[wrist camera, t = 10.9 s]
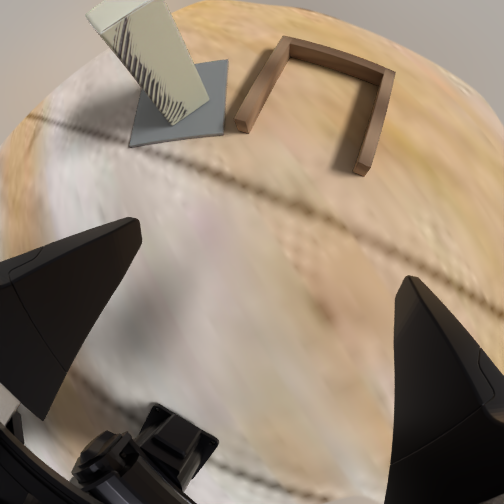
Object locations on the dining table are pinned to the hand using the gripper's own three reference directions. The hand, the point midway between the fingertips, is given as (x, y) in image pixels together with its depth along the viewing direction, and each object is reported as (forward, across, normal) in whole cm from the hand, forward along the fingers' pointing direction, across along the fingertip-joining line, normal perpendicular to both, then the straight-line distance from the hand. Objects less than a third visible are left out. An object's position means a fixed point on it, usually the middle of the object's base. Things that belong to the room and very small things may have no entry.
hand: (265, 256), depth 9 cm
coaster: (+18, +12, -3) cm, 22 cm away
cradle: (+19, -1, -4) cm, 19 cm away
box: (+18, +12, -3) cm, 21 cm away
